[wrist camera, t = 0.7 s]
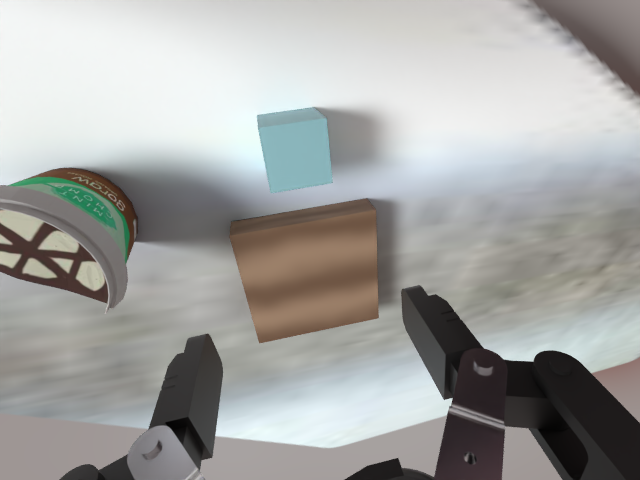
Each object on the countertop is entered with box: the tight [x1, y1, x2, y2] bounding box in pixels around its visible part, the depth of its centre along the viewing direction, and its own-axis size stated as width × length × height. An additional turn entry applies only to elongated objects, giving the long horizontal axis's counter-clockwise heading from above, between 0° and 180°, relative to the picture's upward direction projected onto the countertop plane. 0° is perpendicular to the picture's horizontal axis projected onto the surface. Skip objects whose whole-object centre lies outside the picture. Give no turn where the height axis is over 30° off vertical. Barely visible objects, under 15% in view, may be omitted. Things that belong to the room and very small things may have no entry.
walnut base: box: [229, 198, 379, 343], centre depth 36 cm, size 14×14×3 cm
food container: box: [0, 168, 138, 314], centre depth 25 cm, size 12×6×10 cm, turn 56°
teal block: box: [257, 107, 333, 193], centre depth 28 cm, size 5×5×6 cm
